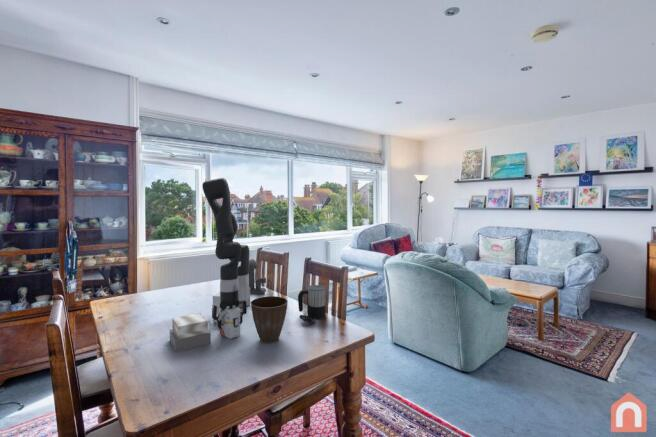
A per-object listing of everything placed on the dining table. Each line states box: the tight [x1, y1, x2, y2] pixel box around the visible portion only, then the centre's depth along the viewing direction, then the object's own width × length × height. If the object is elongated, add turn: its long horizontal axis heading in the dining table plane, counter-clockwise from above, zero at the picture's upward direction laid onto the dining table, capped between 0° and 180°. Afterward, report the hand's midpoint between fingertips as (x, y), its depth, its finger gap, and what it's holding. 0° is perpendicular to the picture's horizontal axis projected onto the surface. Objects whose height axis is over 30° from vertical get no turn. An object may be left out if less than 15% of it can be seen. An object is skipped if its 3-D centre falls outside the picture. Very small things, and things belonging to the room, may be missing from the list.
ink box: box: [219, 308, 241, 339], centre depth 142 cm, size 9×5×12 cm, turn 50°
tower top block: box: [171, 312, 209, 340], centre depth 134 cm, size 11×11×5 cm
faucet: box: [249, 258, 267, 295], centre depth 210 cm, size 18×16×20 cm
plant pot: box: [250, 295, 288, 344], centre depth 137 cm, size 15×15×16 cm
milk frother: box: [297, 284, 327, 325], centre depth 160 cm, size 14×16×15 cm
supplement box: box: [212, 292, 220, 323], centre depth 159 cm, size 7×7×13 cm
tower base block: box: [169, 328, 212, 353], centre depth 135 cm, size 13×13×5 cm
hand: (229, 326), depth 142 cm, fingers open, 8 cm apart
